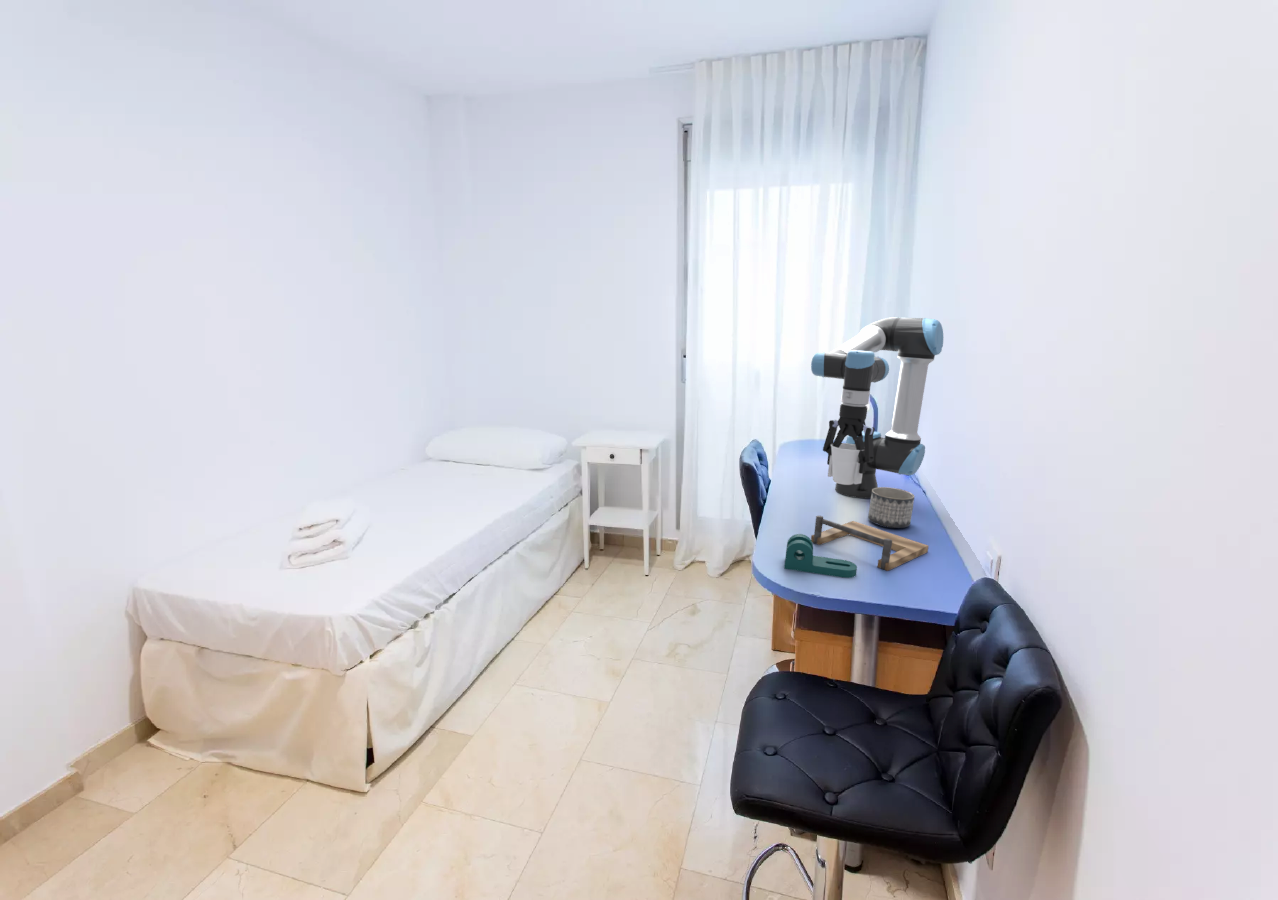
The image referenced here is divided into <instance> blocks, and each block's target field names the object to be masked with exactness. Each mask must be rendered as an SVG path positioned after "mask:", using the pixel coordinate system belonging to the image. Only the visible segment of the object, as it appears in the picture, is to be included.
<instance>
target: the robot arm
mask: <svg viewBox="0 0 1278 900" xmlns="http://www.w3.org/2000/svg"><path fill="white" fill-rule="evenodd" d="M943 346H944V328H943V325H942V323H941V322H940V321H939V320H937V319H932V318H926V317H924V318H923V317H922V318H921V317H899V316H898V317H897V316H893V317H891V316H890V317H886V318H882V319H880V320H877V321H874V322H872V323H869V324H868V325H866V326H864V327H863V328H861V330H860V331H859V333H858V334H857V335H855V336H854V337H852V338H851V339H849V340H847V341H845V342H844V343H842V344H841V345H840V346H837V348H834V349H833V350H832V351H829V352H823V351H822V352H816V353H815V354H813V356H812V359H811V362H810V363H811V364H810V370H811V373H812V374H813V376H815V377H822V378H829V379H838V380H843V384H842V389H841V390H842V391H841V398H840V401H841V403H840V405H839V411H838V413H839V414H838V415H839V418H838V420H837V419H830V420H829V421H828V430H827V433H826V437H825V441H824V444H823V447H822V451H823V452H825V453H827V465H828V471H827V477H828V478H833V471H832V450H831V444H833V446H834V447H837V448H839V446H840V445H841V443H843V441H844V439H845V438H846V440H845V443H849V444H855V446H856V450H860V451H859V454H858V458H859V461H858V462H857V463H856V470H855V478H854V483H853V484H851V485H843V484H838V483H836V482H835V491H836V493H839V494H840V495H844V496H847V497H851V498H859V499H871V493H872V489H874V488H877V487H879V486H878V482H877V476H876V474H877V473H876V472H877V470H879V471H885V472H890V473H895V474H897V475H906V476H912V475H915V474H916V473H917V472H918V471H919V469H920V468H921V465H922V462H924V458H925V455H926V446H925V445H924V444H923V443H922V442H921V439H922V438H921V436H920V435H919V434H918V430H919V424H920V417H921V411H922V405H923V400H924V393H925V387H926V382H927V381H926V380H927V374H928V368H929V364H931V363H932V362H934V361H935V356H938V355H940V354H941V352H942V351H943V350H942V349H943ZM879 351H889V352H890V351H891V352H897V356H896V357H897V358H898V360H899V361H900V369H899V374H898V382H897V389H896V394H895V400H894V407H893V414H892V415H893V416H892V420H891V428H890V430H889V431H888V432H886V433H885V435H884V437H882V433H881V432H879V431H875V427H874V426H872V427H870V426H868V425H867V424H866V419H867V414H868V406H867V405H869V400H870V394H871V393H870V392H871V385H872V383H878V382H881V381H883V380H885V378H886V377H888V375H889V371H890V365H889V363H888V361H887V360H886V359H885V358H883V357H881V356H876V354H875V353H877V352H879ZM838 428H839V430H838ZM837 431H838V432H837ZM861 450H864V451H861Z"/></svg>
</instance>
